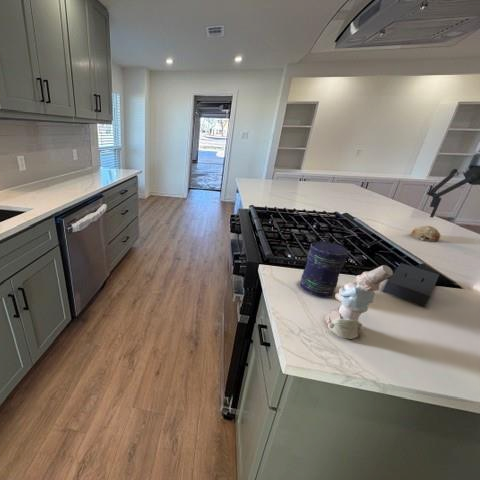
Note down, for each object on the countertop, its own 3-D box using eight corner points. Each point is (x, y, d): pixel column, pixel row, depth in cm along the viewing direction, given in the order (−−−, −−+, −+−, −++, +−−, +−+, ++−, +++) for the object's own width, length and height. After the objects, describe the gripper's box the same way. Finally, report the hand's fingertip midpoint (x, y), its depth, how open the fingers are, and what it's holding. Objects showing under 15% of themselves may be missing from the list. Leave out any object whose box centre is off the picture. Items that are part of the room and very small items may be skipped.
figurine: (369, 343, 62) (402, 272, 54) (332, 338, 63) (359, 268, 55) (351, 319, 70) (377, 254, 62) (318, 314, 71) (340, 250, 63)
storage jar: (299, 277, 89) (310, 238, 83) (331, 285, 85) (345, 244, 79) (299, 292, 81) (311, 250, 75) (335, 301, 77) (351, 257, 71)
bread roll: (408, 243, 128) (415, 232, 123) (408, 230, 134) (416, 219, 128) (435, 248, 123) (444, 237, 118) (434, 234, 129) (443, 223, 123)
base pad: (430, 292, 82) (436, 282, 81) (424, 307, 75) (430, 296, 74) (391, 279, 89) (395, 269, 88) (382, 291, 82) (387, 281, 81)
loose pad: (434, 284, 87) (439, 274, 85) (429, 296, 80) (434, 285, 79) (396, 272, 94) (401, 262, 92) (389, 282, 88) (393, 272, 86)
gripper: (565, 155, 68) (522, 228, 77) (435, 151, 86) (411, 211, 94) (571, 156, 64) (524, 234, 72) (433, 152, 82) (408, 215, 90)
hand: (460, 221), depth 83 cm, fingers open, 13 cm apart
